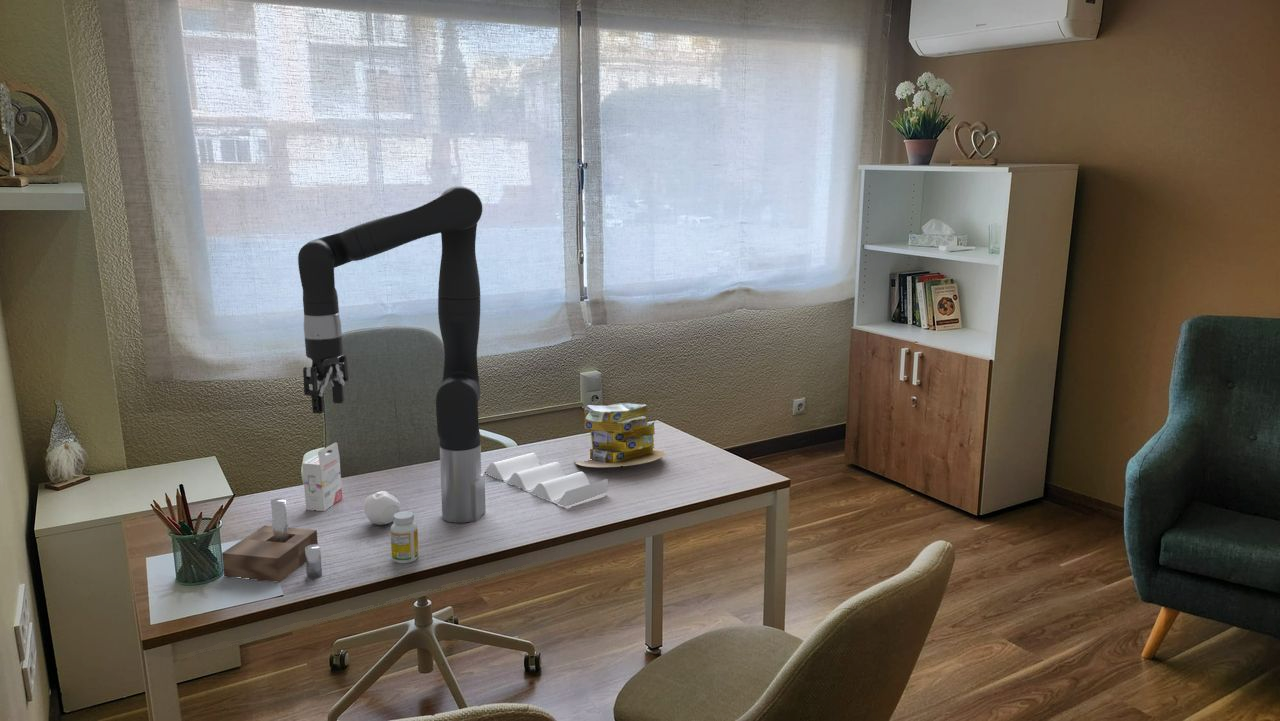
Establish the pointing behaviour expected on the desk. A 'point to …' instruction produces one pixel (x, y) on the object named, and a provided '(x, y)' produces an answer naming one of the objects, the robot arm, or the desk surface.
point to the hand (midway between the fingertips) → (328, 407)
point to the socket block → (268, 554)
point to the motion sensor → (381, 507)
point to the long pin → (279, 520)
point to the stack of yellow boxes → (620, 435)
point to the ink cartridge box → (322, 479)
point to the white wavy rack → (546, 479)
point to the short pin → (313, 561)
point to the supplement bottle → (404, 538)
